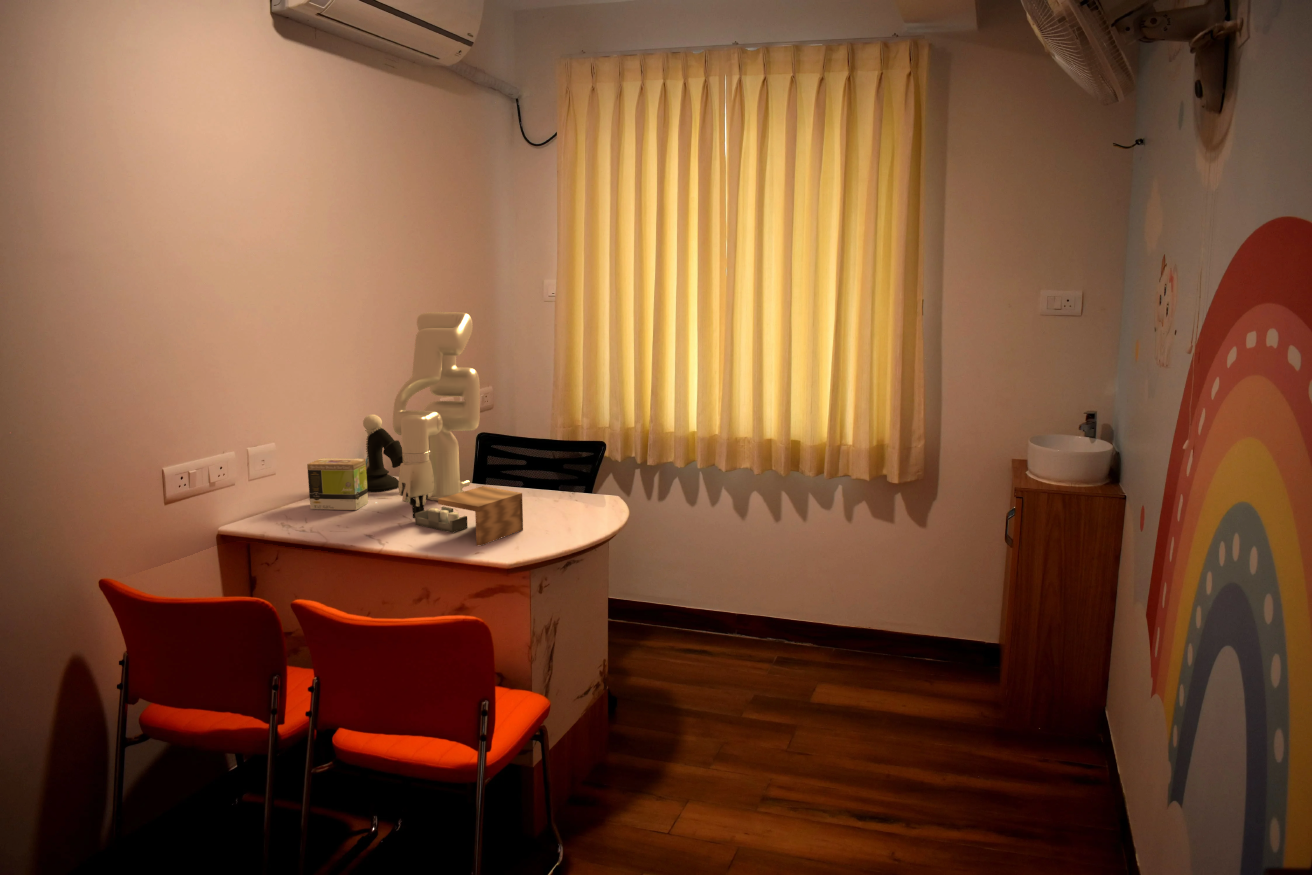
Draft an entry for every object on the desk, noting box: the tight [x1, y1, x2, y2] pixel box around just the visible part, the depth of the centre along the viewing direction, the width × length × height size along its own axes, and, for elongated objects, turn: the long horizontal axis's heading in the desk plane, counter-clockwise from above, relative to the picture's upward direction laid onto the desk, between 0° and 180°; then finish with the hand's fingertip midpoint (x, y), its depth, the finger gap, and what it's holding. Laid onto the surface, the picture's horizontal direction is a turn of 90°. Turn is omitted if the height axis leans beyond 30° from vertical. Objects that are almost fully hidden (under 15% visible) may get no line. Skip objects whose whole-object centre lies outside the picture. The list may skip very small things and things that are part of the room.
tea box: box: [306, 457, 369, 511], centre depth 286 cm, size 15×10×15 cm, turn 84°
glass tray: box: [414, 505, 469, 534], centre depth 265 cm, size 6×15×5 cm, turn 57°
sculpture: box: [362, 414, 403, 493], centre depth 309 cm, size 15×24×25 cm, turn 68°
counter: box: [437, 485, 524, 546], centre depth 258 cm, size 18×15×11 cm
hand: (418, 517), depth 270 cm, fingers closed
